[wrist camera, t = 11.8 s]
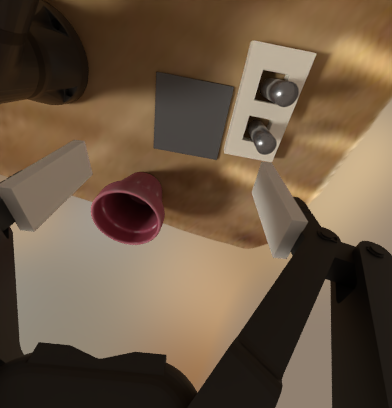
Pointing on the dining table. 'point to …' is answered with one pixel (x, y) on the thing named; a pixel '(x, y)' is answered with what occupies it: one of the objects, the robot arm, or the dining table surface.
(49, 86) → the robot arm
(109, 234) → the plant pot
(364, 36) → the dining table surface
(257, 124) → the seated peg
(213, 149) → the mat
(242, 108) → the hole board
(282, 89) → the peg
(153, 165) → the dining table surface
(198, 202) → the dining table surface
